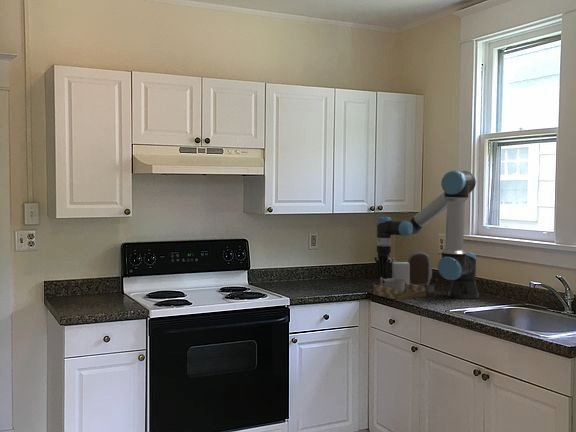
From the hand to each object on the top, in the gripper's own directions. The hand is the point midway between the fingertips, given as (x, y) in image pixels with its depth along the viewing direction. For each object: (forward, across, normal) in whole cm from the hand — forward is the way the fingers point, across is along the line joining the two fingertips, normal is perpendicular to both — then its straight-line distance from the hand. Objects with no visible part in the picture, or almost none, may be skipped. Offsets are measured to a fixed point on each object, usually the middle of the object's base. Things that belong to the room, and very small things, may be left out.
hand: (383, 289), depth 337 cm
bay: (+2, +14, +4) cm, 15 cm away
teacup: (+2, +8, 0) cm, 8 cm away
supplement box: (+2, -2, +14) cm, 14 cm away
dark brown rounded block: (+2, -8, +33) cm, 34 cm away
